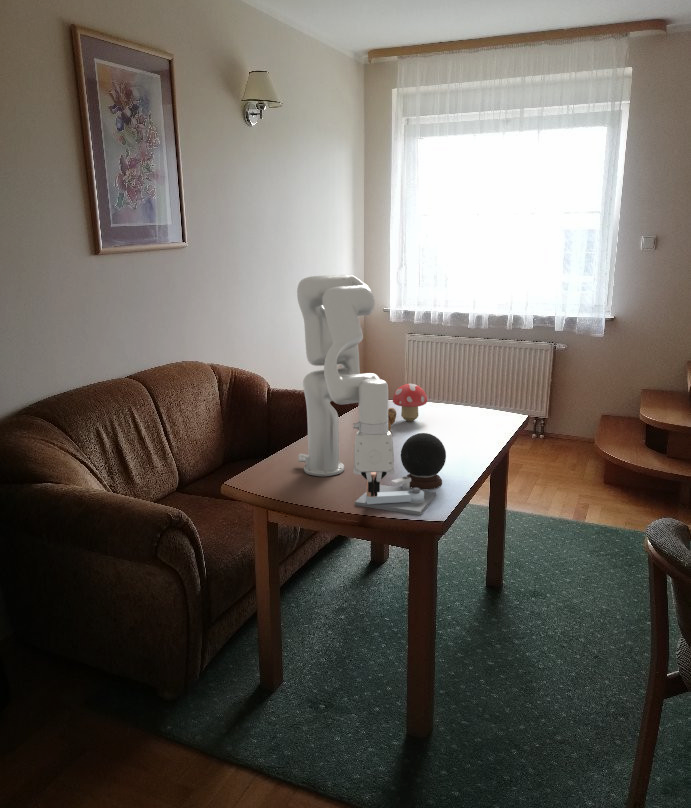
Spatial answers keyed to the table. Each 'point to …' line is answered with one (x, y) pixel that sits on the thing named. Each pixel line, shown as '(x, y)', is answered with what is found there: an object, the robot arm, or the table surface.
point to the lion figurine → (391, 417)
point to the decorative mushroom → (409, 400)
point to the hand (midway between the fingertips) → (373, 494)
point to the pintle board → (402, 507)
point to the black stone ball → (423, 460)
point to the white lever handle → (394, 495)
